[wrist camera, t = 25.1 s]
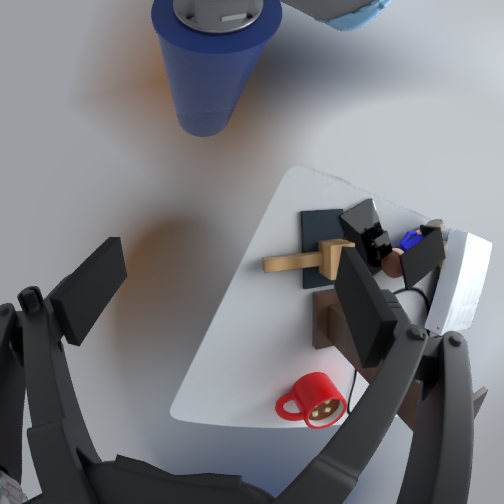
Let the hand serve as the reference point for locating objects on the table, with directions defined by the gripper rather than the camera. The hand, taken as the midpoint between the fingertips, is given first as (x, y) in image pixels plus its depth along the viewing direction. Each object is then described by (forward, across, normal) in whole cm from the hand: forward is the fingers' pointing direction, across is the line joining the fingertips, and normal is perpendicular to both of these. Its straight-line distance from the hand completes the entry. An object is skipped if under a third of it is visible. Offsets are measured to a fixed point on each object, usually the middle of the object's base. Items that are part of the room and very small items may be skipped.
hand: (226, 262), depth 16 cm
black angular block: (+27, +20, -10) cm, 35 cm away
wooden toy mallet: (+24, +9, -12) cm, 28 cm away
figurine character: (+29, +29, -11) cm, 42 cm away
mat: (+26, +12, -11) cm, 30 cm away
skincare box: (+30, +54, -20) cm, 65 cm away
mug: (+18, +11, -37) cm, 43 cm away
